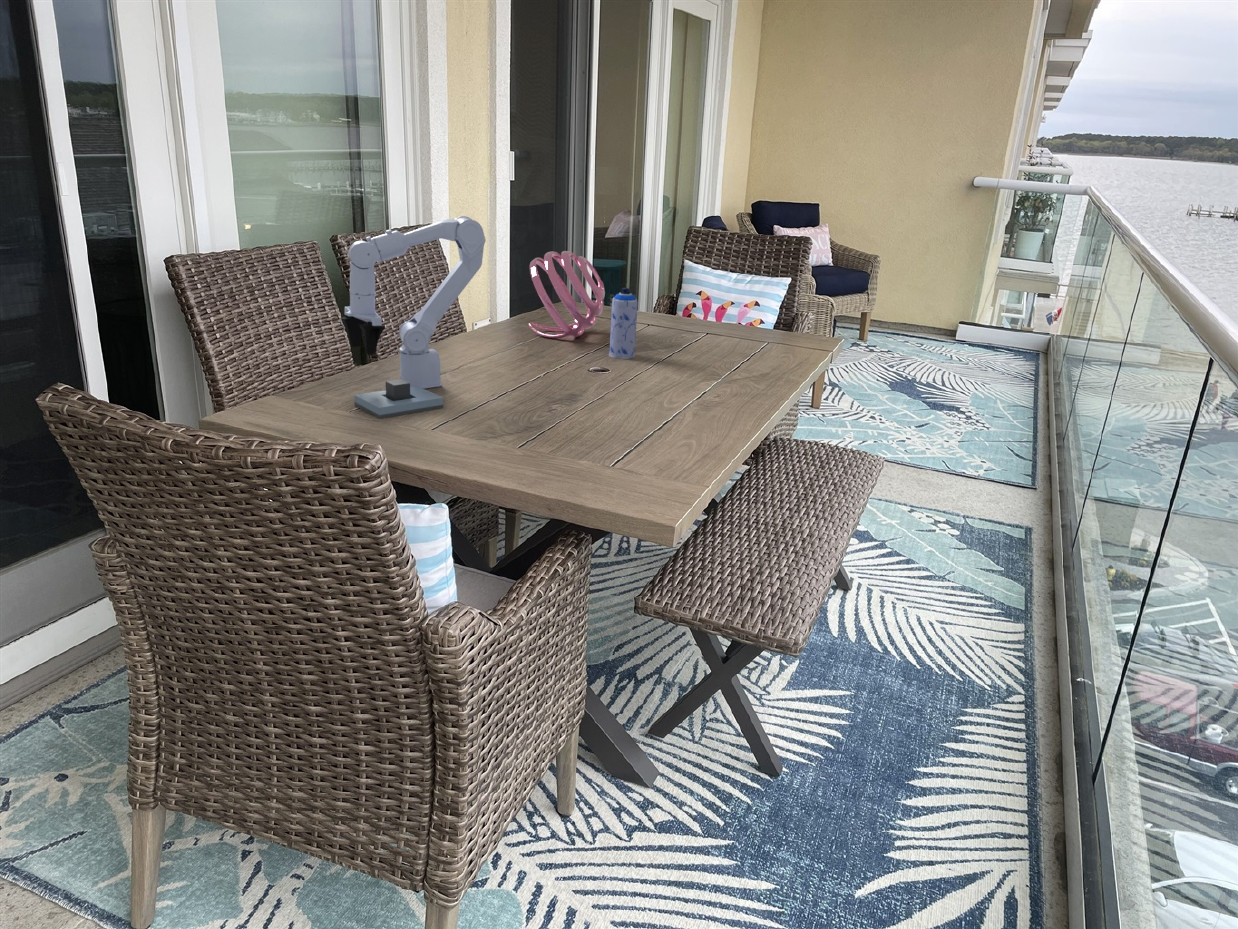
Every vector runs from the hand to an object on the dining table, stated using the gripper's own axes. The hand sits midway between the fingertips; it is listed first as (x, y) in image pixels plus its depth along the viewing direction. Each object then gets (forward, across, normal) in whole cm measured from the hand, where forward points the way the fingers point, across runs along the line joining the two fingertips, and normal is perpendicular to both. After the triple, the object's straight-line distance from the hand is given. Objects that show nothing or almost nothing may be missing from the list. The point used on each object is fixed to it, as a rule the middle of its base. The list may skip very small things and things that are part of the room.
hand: (362, 349), depth 217 cm
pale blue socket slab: (+9, +19, -1) cm, 21 cm away
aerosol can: (+7, +7, +80) cm, 81 cm away
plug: (+8, +19, -1) cm, 20 cm away
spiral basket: (+7, -23, +83) cm, 87 cm away
